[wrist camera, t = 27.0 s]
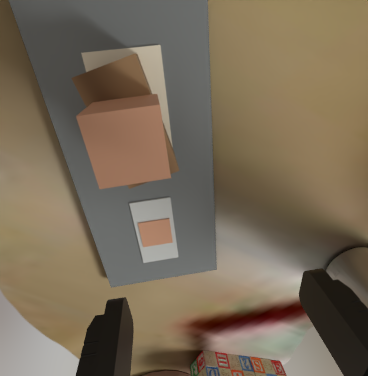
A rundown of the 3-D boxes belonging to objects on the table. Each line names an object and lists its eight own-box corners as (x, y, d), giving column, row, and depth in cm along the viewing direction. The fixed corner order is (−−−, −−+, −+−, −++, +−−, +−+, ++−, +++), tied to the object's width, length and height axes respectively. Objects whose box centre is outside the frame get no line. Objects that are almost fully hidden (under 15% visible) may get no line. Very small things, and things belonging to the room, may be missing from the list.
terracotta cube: (157, 93, 19) (159, 104, 14) (166, 153, 21) (171, 178, 17) (92, 102, 19) (75, 116, 14) (109, 161, 21) (99, 189, 17)
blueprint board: (200, -74, 19) (205, -86, 18) (214, 262, 38) (217, 271, 36) (-5, -61, 18) (-20, -72, 17) (112, 279, 37) (110, 289, 35)
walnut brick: (137, 54, 22) (134, 53, 17) (174, 152, 27) (179, 170, 22) (86, 73, 22) (71, 78, 18) (132, 167, 27) (129, 189, 22)
